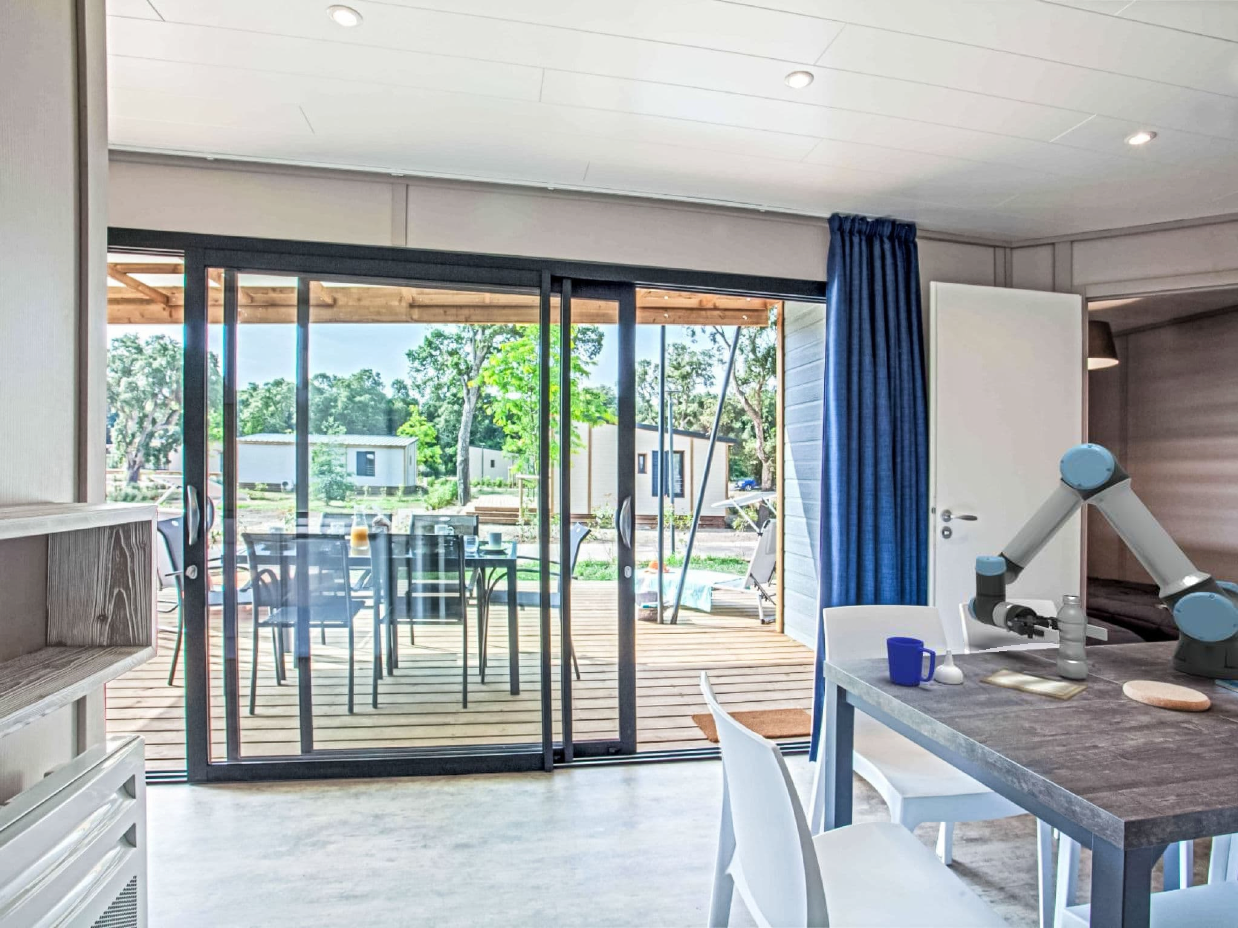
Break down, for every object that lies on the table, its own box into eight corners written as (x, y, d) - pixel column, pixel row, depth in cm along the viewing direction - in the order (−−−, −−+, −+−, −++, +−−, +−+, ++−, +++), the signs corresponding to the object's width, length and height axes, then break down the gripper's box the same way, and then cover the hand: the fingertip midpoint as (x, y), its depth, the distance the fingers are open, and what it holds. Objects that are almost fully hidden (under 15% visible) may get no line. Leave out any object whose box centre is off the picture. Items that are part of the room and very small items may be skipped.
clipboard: (1086, 688, 157) (1086, 682, 157) (1065, 700, 148) (1065, 694, 148) (1003, 671, 171) (1003, 666, 171) (979, 681, 162) (979, 676, 162)
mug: (922, 694, 152) (921, 649, 153) (879, 680, 163) (879, 638, 163) (946, 689, 156) (946, 645, 157) (903, 676, 167) (902, 635, 167)
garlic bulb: (929, 681, 164) (926, 649, 164) (945, 675, 167) (943, 643, 167) (953, 688, 159) (950, 655, 159) (969, 682, 162) (967, 649, 162)
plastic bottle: (1078, 674, 169) (1077, 594, 169) (1094, 682, 162) (1093, 598, 162) (1051, 673, 169) (1050, 593, 170) (1066, 681, 163) (1065, 598, 163)
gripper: (1056, 630, 186) (1126, 649, 165) (974, 633, 182) (1035, 653, 161) (1056, 603, 186) (1125, 618, 165) (974, 605, 182) (1035, 621, 161)
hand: (1081, 635), depth 163 cm, fingers open, 13 cm apart
